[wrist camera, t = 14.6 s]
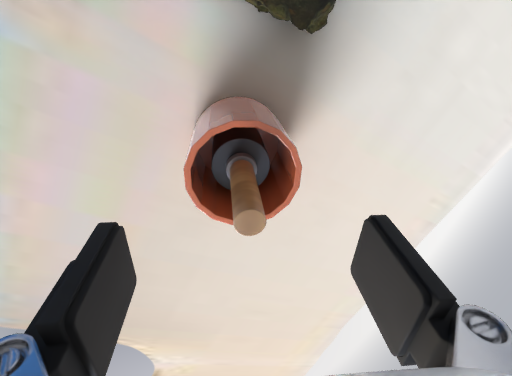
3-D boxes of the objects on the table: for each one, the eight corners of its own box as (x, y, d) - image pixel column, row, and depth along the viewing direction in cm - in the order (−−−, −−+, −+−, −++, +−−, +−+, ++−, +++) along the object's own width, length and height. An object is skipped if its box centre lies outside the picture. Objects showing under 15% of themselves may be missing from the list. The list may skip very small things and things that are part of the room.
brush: (263, 120, 27) (295, 186, 16) (261, 167, 29) (286, 252, 18) (211, 120, 26) (206, 187, 15) (213, 168, 29) (209, 256, 18)
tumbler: (285, 97, 27) (308, 121, 20) (277, 180, 31) (294, 223, 24) (189, 95, 26) (179, 119, 19) (195, 181, 30) (189, 226, 23)
